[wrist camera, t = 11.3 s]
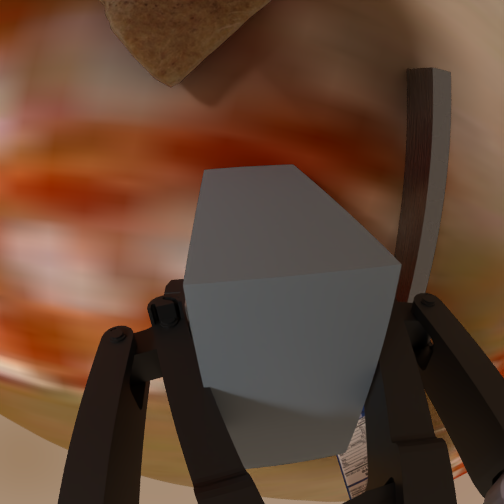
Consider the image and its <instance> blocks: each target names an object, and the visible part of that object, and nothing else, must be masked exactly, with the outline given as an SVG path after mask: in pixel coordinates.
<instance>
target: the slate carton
mask: <svg viewBox="0 0 504 504" xmlns="http://www.w3.org/2000/svg"><path fill="white" fill-rule="evenodd" d="M401 265H402V264H401V263H400V262H399V261H398V260H397V259H396V258H395V257H394V256H393V255H392V254H391V253H390V252H389V251H388V250H387V249H386V248H385V247H384V246H383V245H382V244H381V243H380V242H379V241H378V240H377V239H376V238H375V237H374V236H372V235H371V234H370V233H369V232H368V231H367V230H366V229H365V228H364V227H363V226H362V225H361V224H360V223H359V222H358V221H357V220H356V219H354V218H353V217H352V216H351V215H350V214H349V213H348V212H347V211H346V210H345V209H344V208H343V207H341V206H340V205H339V204H338V203H337V202H336V201H335V200H334V199H333V198H331V197H330V196H329V195H328V194H327V193H326V192H325V191H324V190H322V189H321V188H320V187H319V186H318V185H317V184H316V183H314V182H313V181H312V180H311V179H310V178H309V177H307V176H306V175H305V174H304V173H303V172H302V171H300V170H299V169H298V168H297V167H296V166H294V165H293V164H292V165H268V166H250V167H234V168H220V169H208V170H204V174H203V179H202V183H201V188H200V193H199V198H198V203H197V208H196V214H195V219H194V224H193V230H192V235H191V241H190V246H189V252H188V258H187V264H186V270H185V276H184V282H183V288H184V294H185V299H186V305H187V310H188V315H189V321H190V326H191V331H192V336H193V341H194V346H195V350H196V355H197V360H198V365H199V369H200V374H201V378H202V382H203V387H210V388H211V391H212V393H213V396H214V398H215V401H216V403H217V406H218V408H219V411H220V413H221V416H222V418H223V420H224V423H225V425H226V428H227V430H228V432H229V435H230V437H231V439H232V441H233V444H234V446H235V448H236V451H237V453H238V455H239V457H240V459H241V462H242V464H243V466H244V468H245V469H249V468H260V467H268V466H276V465H284V464H290V463H297V462H303V461H309V460H314V459H319V458H324V457H329V456H334V455H338V454H343V453H346V451H347V448H348V446H349V443H350V441H351V438H352V436H353V433H354V431H355V428H356V426H357V423H358V420H359V417H360V415H361V412H362V409H363V406H364V404H365V401H366V398H367V395H368V392H369V389H370V386H371V383H372V380H373V377H374V373H375V370H376V367H377V364H378V360H379V357H380V353H381V350H382V346H383V343H384V339H385V335H386V331H387V328H388V324H389V320H390V316H391V311H392V307H393V303H394V299H395V294H396V289H397V285H398V280H399V275H400V270H401Z"/></svg>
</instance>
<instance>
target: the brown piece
mask: <svg viewBox="0 0 504 504" xmlns="http://www.w3.org/2000/svg"><path fill="white" fill-rule="evenodd" d="M99 1H100V2H101V3H102V4H103V5H104V6H105V15H106V17H107V19H108V21H109V22H110V27H111V30H112V31H113V33H114V34H115V35H116V36H117V37H118V39H119V40H120V41H121V42H122V43H123V44H124V45H125V47H126V48H127V49H128V50H129V52H130V53H131V54H132V56H133V57H134V58H135V59H136V60H137V61H138V62H139V63H140V64H141V65H142V66H143V67H144V68H145V69H146V70H147V71H148V72H149V73H150V74H151V75H152V76H153V77H154V78H155V79H156V80H158V81H160V82H162V83H164V84H166V85H168V86H170V87H172V86H174V85H176V84H178V83H179V82H180V81H182V80H183V79H184V78H185V77H186V76H187V75H188V74H189V73H190V72H191V71H192V70H194V69H195V68H196V67H197V66H198V65H199V64H200V63H201V62H202V61H203V60H204V59H205V58H206V57H207V56H208V55H209V54H211V53H212V52H213V51H214V50H215V49H217V48H218V47H219V46H220V45H221V44H222V43H223V42H224V41H225V40H227V39H228V38H229V37H230V36H231V35H232V34H233V33H234V32H235V31H236V30H237V29H238V28H239V27H240V26H241V25H242V24H244V23H245V22H246V21H247V20H248V19H249V18H250V17H251V16H253V15H254V14H255V13H256V12H258V11H259V10H260V9H261V8H263V7H264V6H265V5H267V4H268V3H269V2H270V1H271V0H99Z"/></svg>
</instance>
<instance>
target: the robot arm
mask: <svg viewBox="0 0 504 504" xmlns="http://www.w3.org/2000/svg"><path fill="white" fill-rule="evenodd" d="M183 282H184V279H179V280H171V281H170V282H169V283H168V285H167V286H166V288H165V292H164V293H165V294H164V296H160V297H157V298H155V299H153V300H152V301H150V303H149V304H148V307H147V309H148V313H149V317H150V320H151V324H152V327H150V328H149V329H146V330H144V331H140V332H137V333H133V331H132V329H131V328H129V327H127V326H116V327H113V328H111V329H109V330H107V331H106V332H105V333H104V334H103V336H102V338H101V341H100V344H99V347H98V350H97V353H96V356H95V359H94V362H93V365H92V368H91V371H90V374H89V377H88V380H87V384H86V387H85V390H84V394H83V397H82V400H81V404H80V407H79V411H78V415H77V418H76V422H75V426H74V430H73V434H72V438H71V442H70V446H69V450H68V455H67V459H66V464H65V468H64V473H63V478H62V484H61V488H60V494H59V499H58V504H139V493H140V477H141V463H142V450H143V439H144V429H145V419H146V410H147V402H148V394H149V386H150V380H153V379H157V378H160V377H163V380H164V385H165V389H166V393H167V397H168V401H169V405H170V409H171V412H172V416H173V420H174V424H175V427H176V431H177V434H178V438H179V441H180V444H181V448H182V451H183V454H184V458H185V461H186V464H187V467H188V470H189V473H190V476H191V479H192V482H193V486H194V493H195V496H196V499H197V502H198V504H264V502H263V500H262V498H261V496H260V494H259V492H258V489H257V487H256V485H255V483H254V482H253V480H252V478H251V476H250V475H249V473H247V472H246V470H245V468H244V466H243V464H242V462H241V459H240V457H239V455H238V453H237V451H236V448H235V446H234V444H233V441H232V439H231V437H230V435H229V432H228V430H227V428H226V425H225V423H224V420H223V418H222V416H221V413H220V411H219V408H218V406H217V403H216V401H215V398H214V396H213V393H212V391H211V388H210V387H203V382H202V378H201V374H200V369H199V365H198V360H197V355H196V350H195V346H194V341H193V336H192V331H191V326H190V321H189V315H188V310H187V305H186V299H185V294H184V288H183ZM430 339H432V340H433V343H434V344H432V343H431V341H430ZM424 389H425V391H426V393H427V395H428V396H429V398H430V400H431V402H432V404H433V405H434V407H435V409H436V411H437V413H438V415H439V417H440V418H441V420H442V422H443V424H444V426H445V428H446V430H447V432H448V434H449V436H450V438H451V440H452V442H453V444H454V445H455V447H456V449H457V451H458V454H459V456H460V458H461V460H462V462H463V464H464V466H465V468H466V470H467V472H468V474H469V476H470V478H471V480H472V482H473V483H474V485H475V487H476V488H477V489H478V491H479V492H480V494H481V495H482V496H483V497H484V498H485V500H484V503H483V504H504V378H503V377H502V375H501V374H500V373H499V371H498V370H497V369H496V367H495V366H494V365H493V363H492V362H491V361H490V359H489V358H488V357H487V356H486V354H485V353H484V352H483V350H482V349H481V348H480V347H479V345H478V344H477V343H476V342H475V340H474V339H473V338H472V337H471V336H470V334H469V333H468V332H467V331H466V329H465V328H464V327H463V326H462V325H461V323H460V322H459V321H458V320H457V319H456V318H455V316H454V315H453V314H452V313H451V312H450V311H449V309H448V308H447V307H446V306H445V305H444V304H443V303H442V301H441V300H440V299H439V298H437V297H436V296H434V295H432V294H428V293H420V294H417V295H416V296H415V297H414V300H413V303H408V302H397V299H396V298H395V299H394V303H393V307H392V311H391V316H390V320H389V324H388V328H387V331H386V335H385V339H384V343H383V346H382V350H381V353H380V357H379V360H378V364H377V367H376V370H375V373H374V377H373V380H372V383H371V386H370V389H369V392H368V395H367V398H366V401H365V404H364V412H365V425H366V441H367V462H368V481H367V486H366V490H365V492H364V493H362V494H360V495H358V496H356V497H354V498H352V499H351V500H349V501H347V502H345V503H343V504H457V500H456V493H455V487H454V481H453V475H452V469H451V464H450V458H449V453H448V448H447V445H446V442H445V441H444V440H443V439H442V438H437V437H436V436H435V434H434V429H433V425H432V420H431V416H430V411H429V407H428V403H427V399H426V395H425V391H424Z"/></svg>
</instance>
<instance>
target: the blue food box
mask: <svg viewBox="0 0 504 504" xmlns="http://www.w3.org/2000/svg"><path fill="white" fill-rule="evenodd" d="M336 456H337V459H338V462H339V465H340V469H341V472H342V475H343V478H344V482H345V485H346V488H347V491H348V495H349V498H350V500H351V499H352V498H354V497H356V496H358V495H360V494H362V493H364V492H365V490H366V486H367V481H368V462H367V441H366V425H365V412H364V406H363V409H362V412H361V415H360V417H359V420H358V423H357V426H356V428H355V431H354V433H353V436H352V438H351V441H350V443H349V446H348V448H347V451H346V453H343V454H338V455H336Z"/></svg>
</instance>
